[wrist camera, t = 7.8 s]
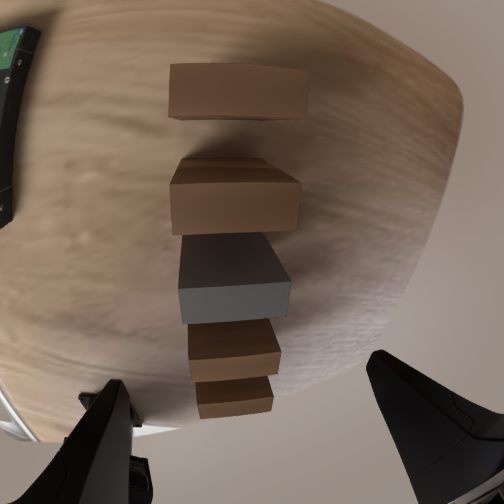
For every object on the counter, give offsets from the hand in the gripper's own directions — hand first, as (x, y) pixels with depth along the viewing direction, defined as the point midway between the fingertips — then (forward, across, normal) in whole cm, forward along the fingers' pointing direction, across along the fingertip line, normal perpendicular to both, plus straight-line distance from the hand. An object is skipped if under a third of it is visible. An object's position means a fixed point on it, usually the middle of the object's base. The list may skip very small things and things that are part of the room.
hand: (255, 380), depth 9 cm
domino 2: (+12, 0, -4) cm, 13 cm away
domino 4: (+12, 0, +5) cm, 13 cm away
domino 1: (+12, 0, -9) cm, 15 cm away
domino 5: (+12, 0, +9) cm, 15 cm away
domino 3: (+12, 0, 0) cm, 12 cm away
